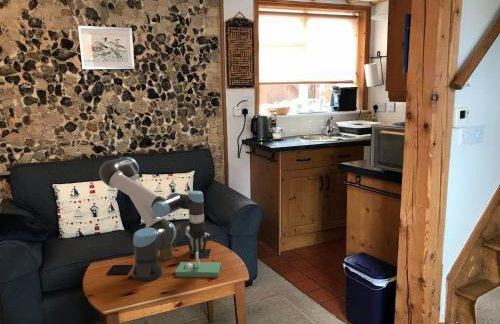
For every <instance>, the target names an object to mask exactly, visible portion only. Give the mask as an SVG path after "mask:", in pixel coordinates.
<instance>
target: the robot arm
mask: <svg viewBox="0 0 500 324" xmlns="http://www.w3.org/2000/svg"><path fill="white" fill-rule="evenodd" d="M139 171H140V167H139V164H138V162H137V161H136V160H135V158H132V157H129V156H126V157H125V156H124V157H119V158H115V159H112V160H107V161H105V162H103V163H102V164H101V166H100V168H99V171H98V174H99V178H100V179H101V181H102V182H103V183H104V185H106V186H107V187H110V188H112V189H115V188H116V189H117V190H118V191H121V192H122V193H124V194H125V195H127V196H128V197H129V198H130V200H131V201H132V203H133V205H134V207H135V208H136V210H137V212H138V213H139V215H140V217H141V219H142V220H143V222H144V223H145V227H144V228H140V229H138V230H137V231H135V232H134V234H133V240H132V242H133V243H132V244H133V252H134V253H133V254H134V264H133V268H132V271H131V277H132V279H134V280H136V281H139V282H147V281H148V282H149V281H153V280H156V279H159V278H160V277H161V276H162V275H163V267H162V265H161V262H160V261H159V260H160V259H159V252H158V251H160V249H161V248H163V247H165V246H167V245H169V244H170V243H171V242H173V243H174V239H175V237H177V234H176V229H175V226H176V225H175V224H173V223H172V222H170V221H167V220H166V218H165V217H166V216H168V215H170V214H172V213H174V212H177V211H178V210H180V209H182V210H188V221H189V225H188V226H189V232H188V233H186V232H185V235H184V238H185V239H186V242H187V246H188V250H190V251H189V252H192V253H191V254H193V259H194V260H195V262H196V266H199V265H200V262H201V259H202V256H203V254H204V253H205V251H206V247H207V242H208V239H209V237H210V236H211V235H210V233H207V232H206V229H205V221H204V220H205V213H204V202H205V201H204V193H203V192H202V191H200V190H190V191H189V192H188V193H187V194H185V193H178V192H171V193H169V195H167V197H166V198H165V197H163V196H161V195H159V194H158V193H156V192H154V191H152V190H150V188H147V187H146V186H143V185H142V183H141V181H140V180H139V178H140V175H139ZM190 236H191V237H192V238H193V247H192V243H191V240H190ZM202 237H204V241H203V243H202V244H203V245H202V246H201V238H202ZM196 239H198V251H199V252H197V243H196ZM202 239H203V238H202ZM202 253H203V254H202Z"/></svg>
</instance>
